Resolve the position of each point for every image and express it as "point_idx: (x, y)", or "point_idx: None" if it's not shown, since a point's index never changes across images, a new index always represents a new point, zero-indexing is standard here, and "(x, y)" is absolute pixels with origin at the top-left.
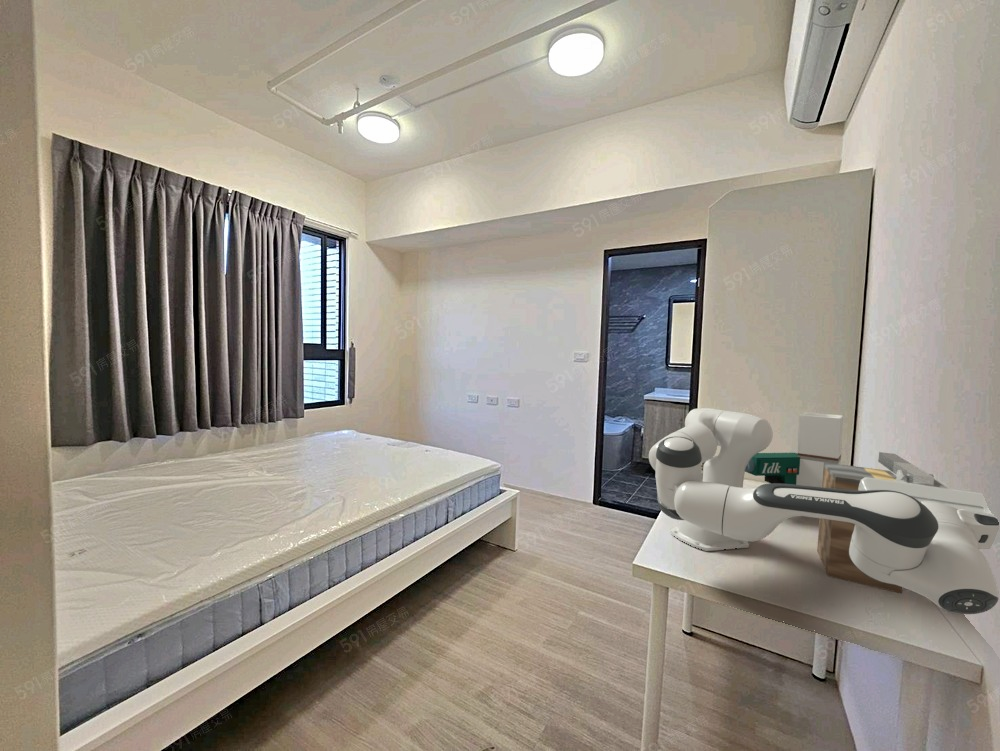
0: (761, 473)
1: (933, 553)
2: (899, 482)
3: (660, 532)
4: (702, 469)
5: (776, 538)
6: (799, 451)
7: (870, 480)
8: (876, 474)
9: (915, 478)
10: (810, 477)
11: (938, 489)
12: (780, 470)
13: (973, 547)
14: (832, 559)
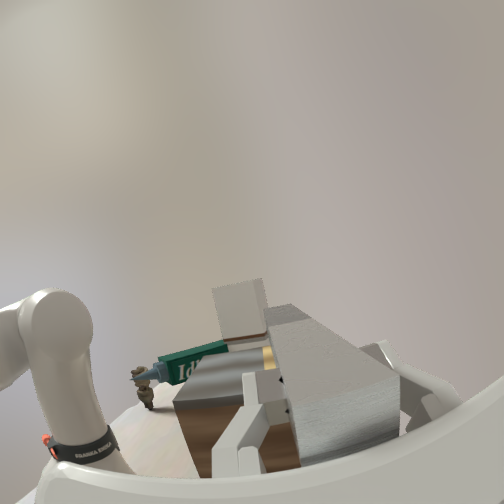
0: (179, 380)
1: None
2: (209, 490)
3: (34, 491)
4: (135, 385)
5: (191, 477)
6: (224, 336)
7: (62, 487)
8: (273, 359)
9: (306, 425)
10: None
11: (433, 450)
12: None
13: None
14: None
